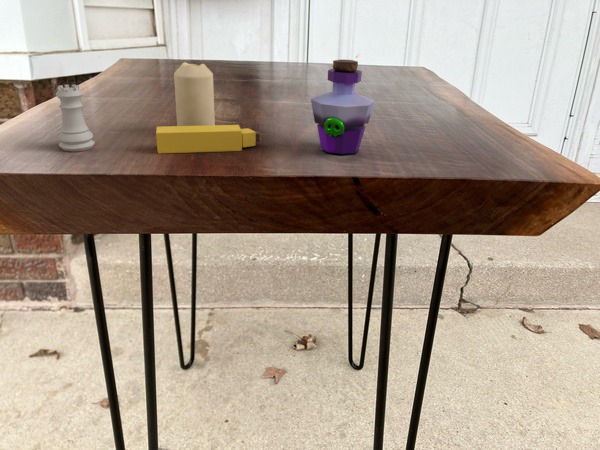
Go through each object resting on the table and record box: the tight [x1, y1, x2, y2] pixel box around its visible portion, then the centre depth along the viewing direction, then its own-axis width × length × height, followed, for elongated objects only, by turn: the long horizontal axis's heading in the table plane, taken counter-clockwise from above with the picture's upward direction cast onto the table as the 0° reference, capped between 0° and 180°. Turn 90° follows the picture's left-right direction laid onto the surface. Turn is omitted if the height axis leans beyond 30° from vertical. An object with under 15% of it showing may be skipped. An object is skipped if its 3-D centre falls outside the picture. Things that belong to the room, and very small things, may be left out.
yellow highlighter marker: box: [155, 124, 260, 155], centre depth 71 cm, size 14×4×3 cm, turn 102°
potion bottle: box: [310, 59, 376, 157], centre depth 71 cm, size 9×9×12 cm
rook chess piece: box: [55, 84, 96, 153], centre depth 68 cm, size 4×4×8 cm
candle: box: [173, 61, 216, 126], centre depth 77 cm, size 6×6×10 cm
